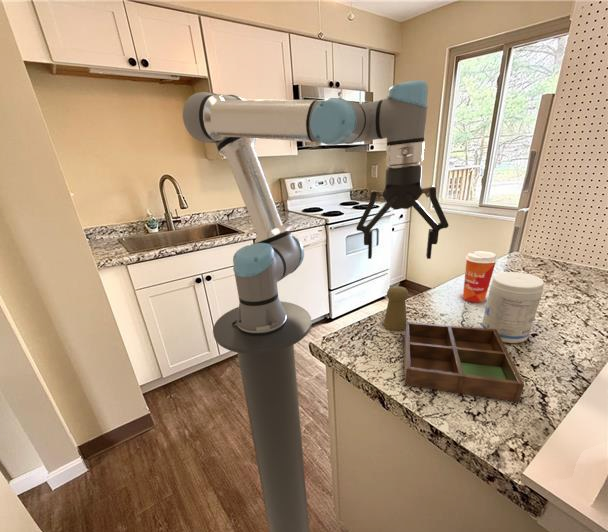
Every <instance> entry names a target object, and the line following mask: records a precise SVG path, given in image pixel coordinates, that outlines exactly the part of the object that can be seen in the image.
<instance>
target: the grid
mask: <svg viewBox="0 0 608 532" xmlns="http://www.w3.org/2000/svg"><path fill="white" fill-rule="evenodd" d="M403 340H404V341H403V344H404V345H403V346H404V350H403V354H404V357H403V358H404V386H408V387H409V386H411V387H416V388H424V389H431V390H436V391H443V392H450V393H457V394H464V395H471V396H477V397H483V398H484V397H485V398H491V399H495V400H497V399H498V400H504V401H510V402H516V403H520V400H521V397H522V393H523V390H524V387H525V383H524V381H523V379H522V377H521V375H520V374H519V370H518V369H517V367H516V365H515V364H514V363H515V362H514V361H513V359H512V357H511V355H510V353H509V350H508V349H507V347H506V345H505V342H503V341H502V339H501V337H500V335H499V333H498V331H497V330H496V329H485V328H482V327H471V326H459V325H458V326H457V325H450V324H449V325H446V324H436V323H424V322H423V323H422V322H410V321H407V322H405V329H404V334H403Z"/></svg>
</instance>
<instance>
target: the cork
mask: <svg viewBox="0 0 608 532" xmlns="http://www.w3.org/2000/svg"><path fill="white" fill-rule="evenodd" d="M408 297H409V291H408V290H407V288H406V287H404V286H399V285H395V286H390V287H389V288H388V289H387V292H386V298H387V299H388V302H387V306H386V309H385V315H384V320H383V327H385V328H386V329H388V330H391V331H403V330H405V322H408V321H407V320H408V319H407V306H406V304H407V303H406V301H407V300H408Z"/></svg>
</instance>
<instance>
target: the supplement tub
mask: <svg viewBox="0 0 608 532" xmlns="http://www.w3.org/2000/svg"><path fill="white" fill-rule="evenodd" d="M544 285H545V281H544V280H543V279H542V278H540V277H538V276H536V275H533V274H530V273H525V272H517V271H503V272H497V273H496V274H494V275H493V276H492V279H491V281H490V285H489V289H488V295H487V300H486V304H485V310H484V312H483V313H484V314H483V317H482V322H481V327H480V328H485V329H496V330H497V331H498V333H499V335H500V337H501V339H502V341H503V343H508V344H519V343H523V342H526V341H527V340H528V338H529V336H530V333H531V330H532V326H533V324H534V321H535V318H536V315H537V311H538V309H539V304H540V302H541V298H542V295H543V292H544Z"/></svg>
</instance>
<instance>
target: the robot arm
mask: <svg viewBox="0 0 608 532" xmlns="http://www.w3.org/2000/svg"><path fill="white" fill-rule="evenodd" d="M428 92H429V85H428V83H427V82H426V81H425V80H422V79H418V80H417V79H416V80H410V81H403V82H399V83H397V84H394V85H392V86H391V87H390V88H389V89H388V94H387V97H386V98H383V99H380V100H375V101H369V102H364V103H361V102H356V101H350V100H346V99H345V98H341V97H330V98H326V99H245V98H243V97H240V96H239V95H235V94H222V93H214V92H207V91H201V92H199V91H198V92H196V93H193V94H192V95H190V96H189V97H188V98H187V99H186V101H185V103H184V105H183V109H182V121H183V125H184V127H185V129H186V131H187V133H188V134H189V135H190V136H191V137H192V138H193V139H195V140H197V141H198V142H201V143H206V144H208V143H210V144H215V146H216V149H217V151H218V153H219V155H220V156H221V157H224V158H226V159H227V162H228V165H229V167H230V171H231V172H232V175H233V177H234V180H235V182H236V185H237V187H238V190H239V192H240V196H241V198H242V201H243V203H244V206H245V208H246V210H247V213H248V216H249V217H250V221H251V223H252V226H253V228H254V230H255V233H256V238H255V241H254V243H251V244H249V245H248V244H247V245H245V246H242V247H241V248H239V249H238V250H236V251H235V253H234V254H233V257H232V263H233V264H232V265H233V266H232V269H233V272H234V278H235V284H236V289H237V290H236V291H237V295H238V296H237V297H238V301H239V304H238V307H239V309H238V314H237V320H236V321H234V322H233V323H232V325H234V324H236V323H237V327H238V329H239V330H240V331H241V332H243V333H245V334H249V335H266V334H270V333H273V332H276V331H278V330H280V329H281V328H283V327H284V326H285V324H286V322H287V318H286V313H285V311H284V308H283V306H282V304H281V302H280V301H281V300H280V298H279V291H278V290H279V289H278V282H281V280H283V279H285V278H286V277H287V276H289V275H291V274H293V273H295V272H296V270H297V269H298V268H300V266H301V265H302V264H303V262H304V259H305V249H304V248H305V247H304V245H303V243H302V241H301V240H300V239H299V238H297V237H296V236H295V235H292V232H291V229H290V228H289V227H288V226H286V225H284V224H283V222H282V219H281V216H280V214H279V210H278V208H277V206H276V202H275V200H274V197H273V195H272V191H271V188H270V187H269V184H268V181H267V179H266V176H265V173H264V170H263V168H262V165H261V162H260V160H259V157H258V154H257V151H256V149H255V144H256V141H257V139H259V140H274V141H275V140H277V141H289V142H290V141H291V142H292V141H293V142H308V143H317V144H318V143H320V144H324V145H332V146H336V145H337V146H338V145H352V144H356V143H362V142H368V141H375V140H383V139H386V151H385V153H386V158H385V159H386V160H385V165H386V166H388V167H387V168H386V169H385V181H384V183H385V184H384V185H385V186H384V190H376V189H373V190H371V192H370V198H369V202H368V203H367V204H368V205H367V206H366V208H365V210H364V212H363V214H362V216H361V218H360V220H359V222H358V223H357V226H356V231H358V232H362V233H363V245H364V246H367V259H368V260H369V259H370V260H372V257H373V230H372V229H373V228H374V226H375V225H376V224H377V223H378V222H379V221H380V220H381V218H383V216H384V215H385V214H386V213H387V212H388V211H389V210H390V209H393V210H400V209H404V210H408V209H410V208H414V210H415V211H416V212H417V213H418V214H419V216H421V217H422V219H423V220H424V221H425V223H427V224H428V225H429V227H430V228H428V233H427V244H426V245H427V246H426V252H425V253H426V254H425V257H426V259H427V260H431V259H432V248H433V245H437V244H438V240H439V233H440V231H441V230H443V229H447V228H448V227H449V222H448V220H447V218H446V215H445V214H444V212H443V209H442V206H441V205H440V203H439V200H438V198H437V188H436V187H435V185H430V186H428V187H427V186H426V187H422V176H423V175H422V174H423V173H422V172H423V166H422V165H421V164H420V163H423V160H424V149H425V137H426V136H425V135H426V126H427V116H428V115H427V114H428V108H429V105H428V96H429V95H428V94H429V93H428ZM423 194H424V195H425V197H426V198H429V200H430V203H431V204H432V207H433V209H434V211H435V214H436V215H437V218H438V219H439V222H436V221H435V220H434V219H433V217H432V216H431V215H430V214H429V212H428V211H427V210H426V209H425V208H424V207H423V206H422V204H421V203H420V202H419V201H418V200H419V199H420V198H421V196H422V195H423ZM381 197H383V199H384V200H385V203H384V204H383V206H381V208H380V209H379V210H378V212H377V213H376V214H375V215H374V216H373V217H372V218H371V220H370V221H369V222H368V223H367V224H366V225H365V223H366V221H367V219H368V217H369V215H370V213H371V211H372V209H373V208H374V205H375V203H376V202H377V201H379V200H380V198H381Z"/></svg>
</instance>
